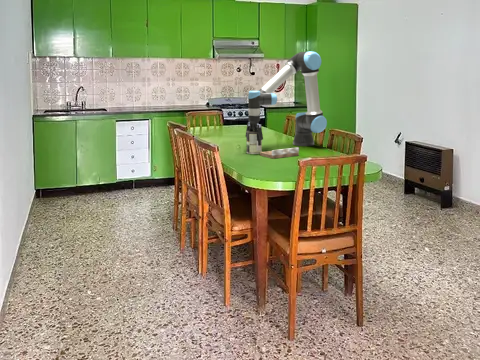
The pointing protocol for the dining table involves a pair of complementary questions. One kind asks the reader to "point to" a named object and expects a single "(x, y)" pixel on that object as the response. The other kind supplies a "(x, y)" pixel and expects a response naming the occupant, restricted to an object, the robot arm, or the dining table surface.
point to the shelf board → (281, 153)
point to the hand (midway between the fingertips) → (254, 149)
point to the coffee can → (252, 142)
